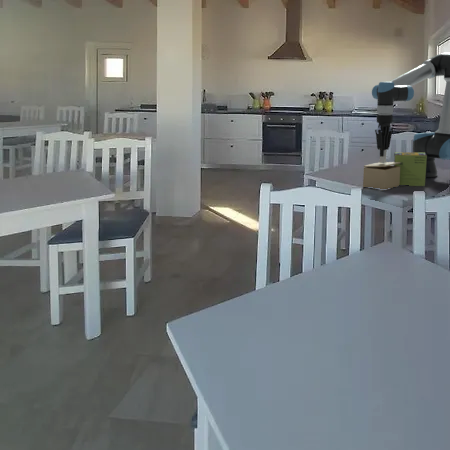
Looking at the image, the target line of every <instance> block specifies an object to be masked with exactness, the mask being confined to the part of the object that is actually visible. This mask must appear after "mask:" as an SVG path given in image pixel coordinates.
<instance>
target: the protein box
mask: <svg viewBox="0 0 450 450" xmlns="http://www.w3.org/2000/svg"><path fill="white" fill-rule="evenodd" d="M426 161H427V155H426V154H425V153H413V151H412V152H407V151H406V152H403V151H402V152H401V151H398V152H396V151H395V152H394V153H393V162H400V163H399V164H395V165H393V166H400V183H399V185H409V186H408V187H425V186H426V178H427V177H426Z"/></svg>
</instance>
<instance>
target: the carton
mask: <svg viewBox="0 0 450 450" xmlns="http://www.w3.org/2000/svg"><path fill="white" fill-rule="evenodd" d="M362 177H363V178H362V181H363V182H362V183H363V184H362V188H363V187H373V188H380V189H388V188H392V189H394V188H393V187H396V188H398V187H397V186H399V183H400V166H394V165H390V166H386V167H364V166H363V176H362ZM399 187H400V186H399ZM388 190H389V189H388Z"/></svg>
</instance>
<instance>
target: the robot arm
mask: <svg viewBox="0 0 450 450" xmlns="http://www.w3.org/2000/svg"><path fill="white" fill-rule="evenodd" d="M441 76H443V79H444V81H445V82H446V83H445V88H444V92H443V93H444V94H443V99H442V100H443V101H442V105H441V113H440V119H439V124H438V129H436V130H435V131H434V132H421V133H416V134H414V135H413V140H412V152H413V153H425V154H426V155H427V161H426V177H425V178H435V177H437V176H438V169H437V166H436V161H435V159H438V160H444V161H445V160H449V161H450V52H443V53H442V52H441V53H439V54H436V55H434V56H432V57H430V58H428V59H426V60H424V61H423V62H421V64H420V65H418V66H416V67H415V68H413V69H411V70H409V71H407V72H405V73H403V74H401V75H399V76H397V77H395V78H393V79H392V80H390V81H380V82H378V84H376V85H374V86H373V87H372V89H371V95H372V98H373V99H374V100H377V106H376V113H377V115H376V123H378V126H377V129H374V132H375V137H376V138H375V139H376V148H377V150H379V161H378V163H386V162H387V150H389V149H390V146H391V142H392V135H393V132H394V128H392V127H391V123H393V122H394V121H393V119H394V115H393V114H394V102H409V101H411V100H412V99H413V98H414V96H415V90H414V86H416V85H417V84H420V83H421V82H423V81H425V80H427V79H433V78H436V77H441Z"/></svg>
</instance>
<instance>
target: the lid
mask: <svg viewBox="0 0 450 450" xmlns="http://www.w3.org/2000/svg"><path fill="white" fill-rule="evenodd" d="M399 163H400V162H394V161H389V162H388V161H386V163H379V162H374V163H369V164H366V165H363V168H364V167H386V166H390V165H391V166H394V165H395V164H399Z"/></svg>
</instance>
